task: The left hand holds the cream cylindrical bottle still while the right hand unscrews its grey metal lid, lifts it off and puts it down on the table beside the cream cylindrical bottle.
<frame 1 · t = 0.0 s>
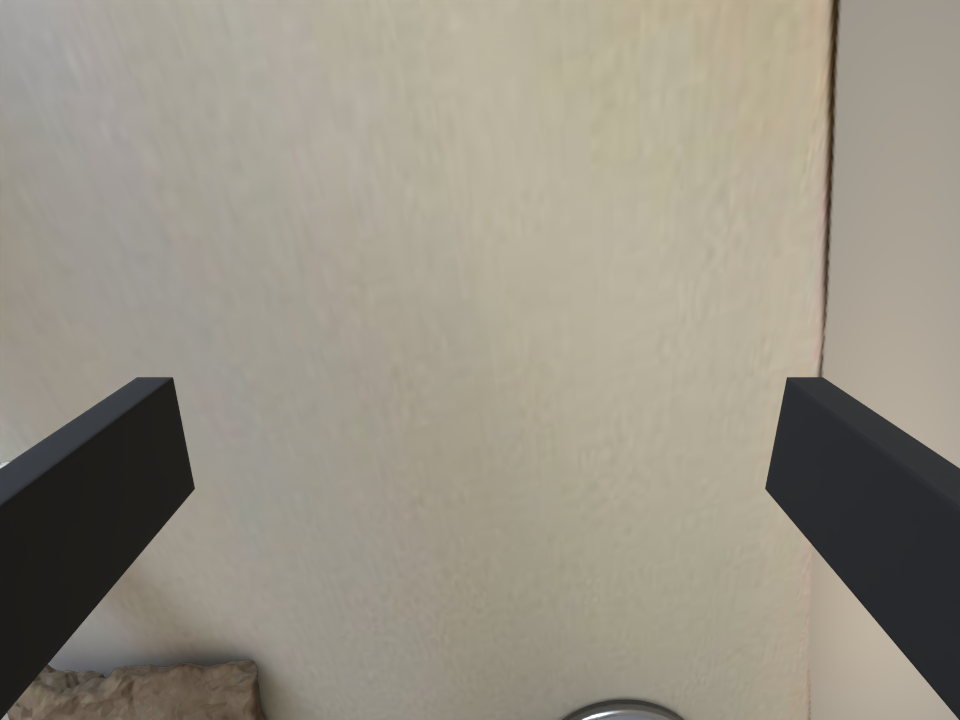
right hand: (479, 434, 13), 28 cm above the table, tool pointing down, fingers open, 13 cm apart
stone: (158, 702, 53), on the table
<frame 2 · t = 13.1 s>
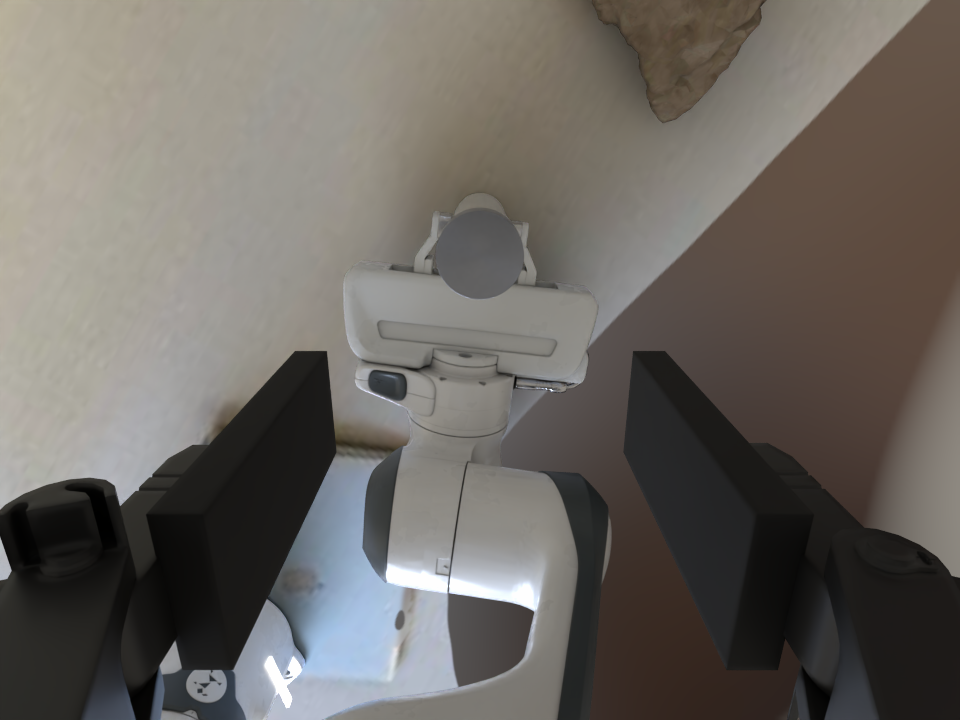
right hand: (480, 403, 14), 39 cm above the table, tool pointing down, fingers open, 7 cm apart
left hand: (480, 217, 45), fingers closed on cream cylindrical bottle, 4 cm apart
lid: (479, 255, 34), point 18 cm above the table, screwed on, not yet turned
cream cylindrical bottle: (480, 219, 51), on the table, touching left hand
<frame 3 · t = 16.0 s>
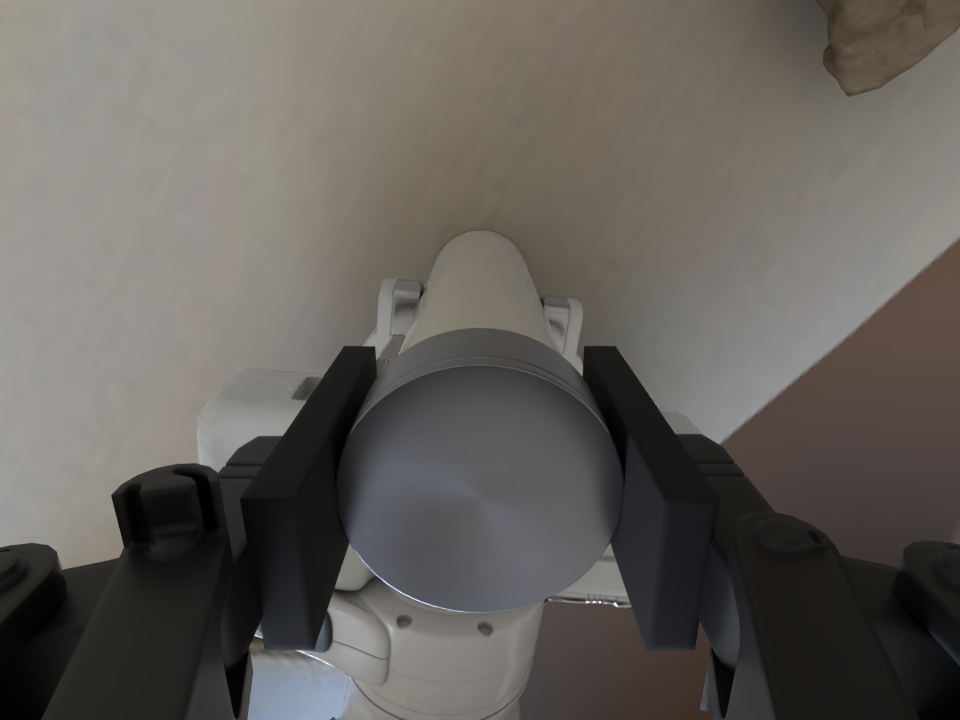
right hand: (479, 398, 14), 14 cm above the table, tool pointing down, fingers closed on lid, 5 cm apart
lid: (479, 488, 11), point 18 cm above the table, screwed on, not yet turned, touching right hand
cream cylindrical bottle: (480, 278, 28), on the table, touching left hand
when the right hand's fingers open (14 cm above the table, at t = 17.5 s): lid stays where it is, point 18 cm above the table.
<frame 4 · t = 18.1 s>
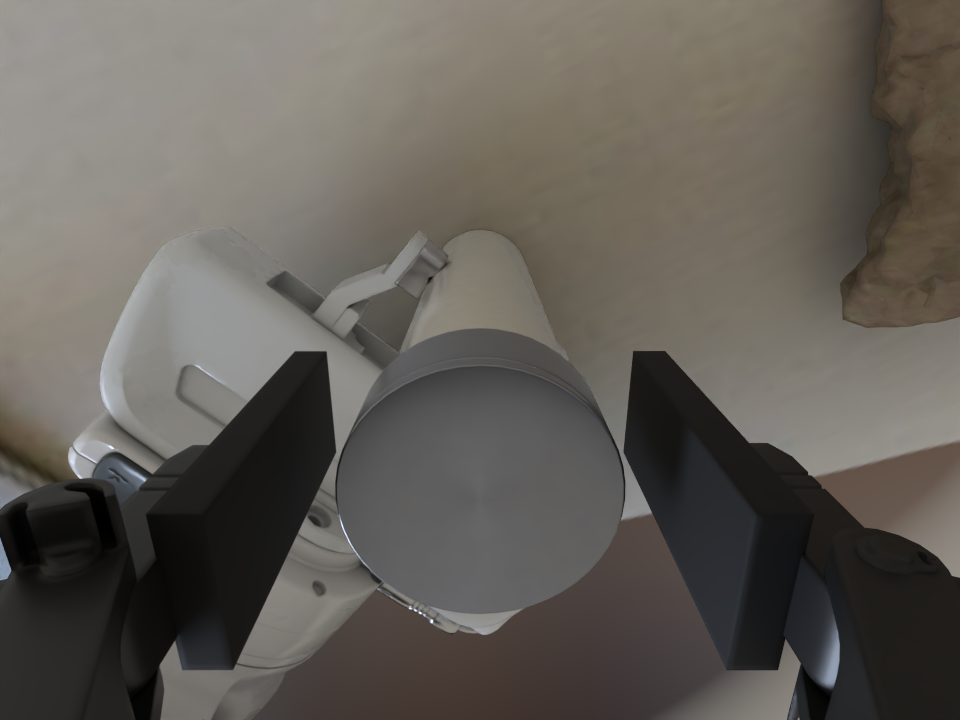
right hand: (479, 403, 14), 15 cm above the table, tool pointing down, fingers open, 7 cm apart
lid: (480, 489, 11), point 18 cm above the table, turned 99° so far, risen 0.2 cm, still on its thread
cream cylindrical bottle: (480, 277, 28), on the table, touching left hand
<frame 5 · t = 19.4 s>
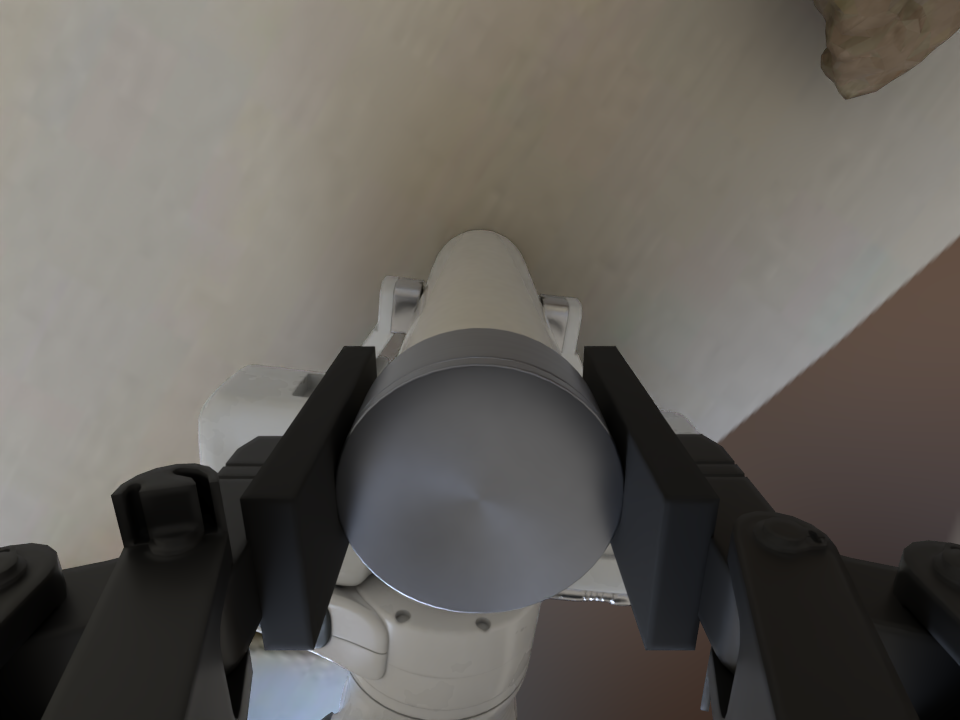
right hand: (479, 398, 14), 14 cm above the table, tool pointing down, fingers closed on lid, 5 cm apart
lid: (479, 489, 11), point 18 cm above the table, turned 99° so far, risen 0.2 cm, still on its thread, touching right hand
cream cylindrical bottle: (479, 277, 28), on the table, touching left hand
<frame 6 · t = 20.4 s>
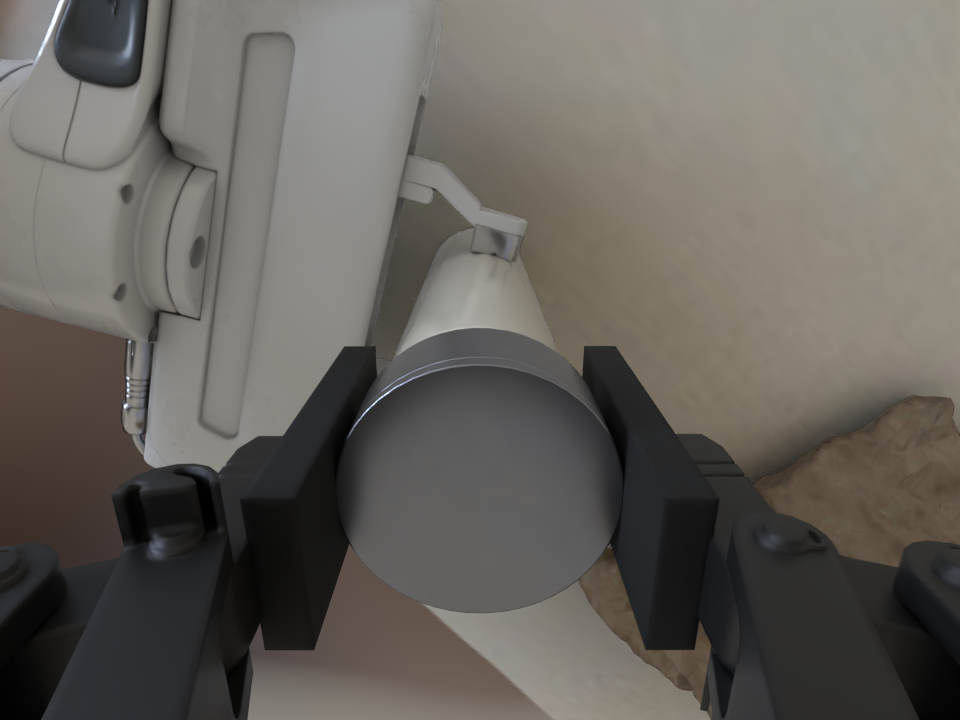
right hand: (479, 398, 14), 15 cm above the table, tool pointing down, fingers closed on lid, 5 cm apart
left hand: (499, 313, 22), fingers closed on cream cylindrical bottle, 4 cm apart
lid: (479, 488, 11), point 19 cm above the table, off its thread, touching right hand
cream cylindrical bottle: (477, 275, 28), on the table, touching left hand
stone: (781, 545, 34), on the table
when the right hand's fingers open (0 cm above the table, at t = 28.0 s): lid drops 3 cm, point 2 cm above the table.
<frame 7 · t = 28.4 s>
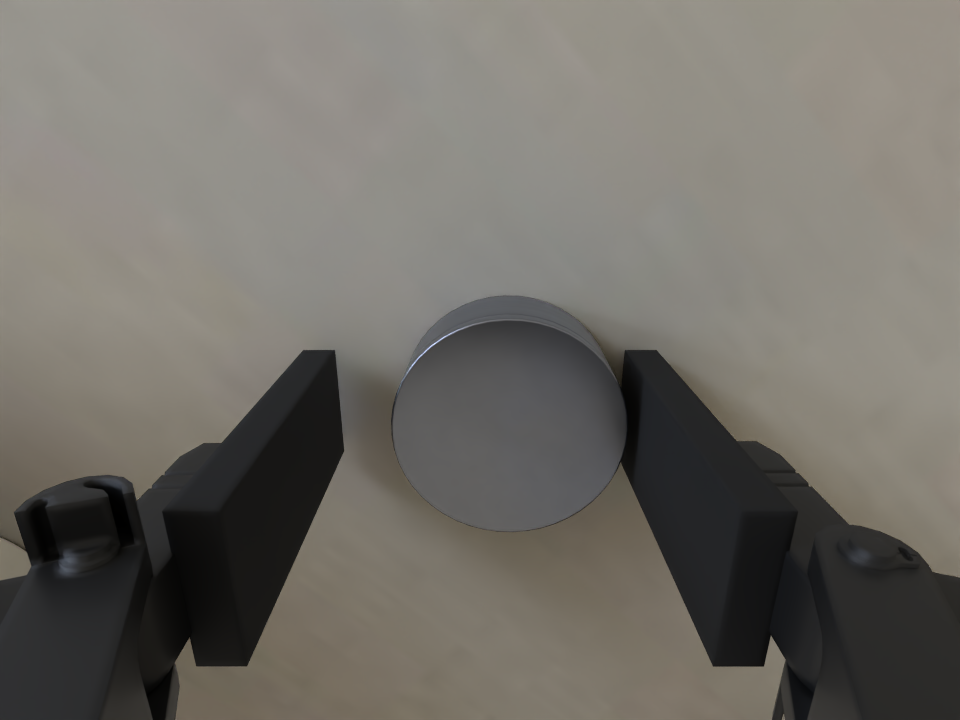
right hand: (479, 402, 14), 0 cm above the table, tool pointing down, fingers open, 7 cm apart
lid: (508, 425, 13), point 2 cm above the table, off its thread
when the left hand's fingers open (6 cm above the table, at t = 29.2 s): cream cylindrical bottle stays where it is, on the table.
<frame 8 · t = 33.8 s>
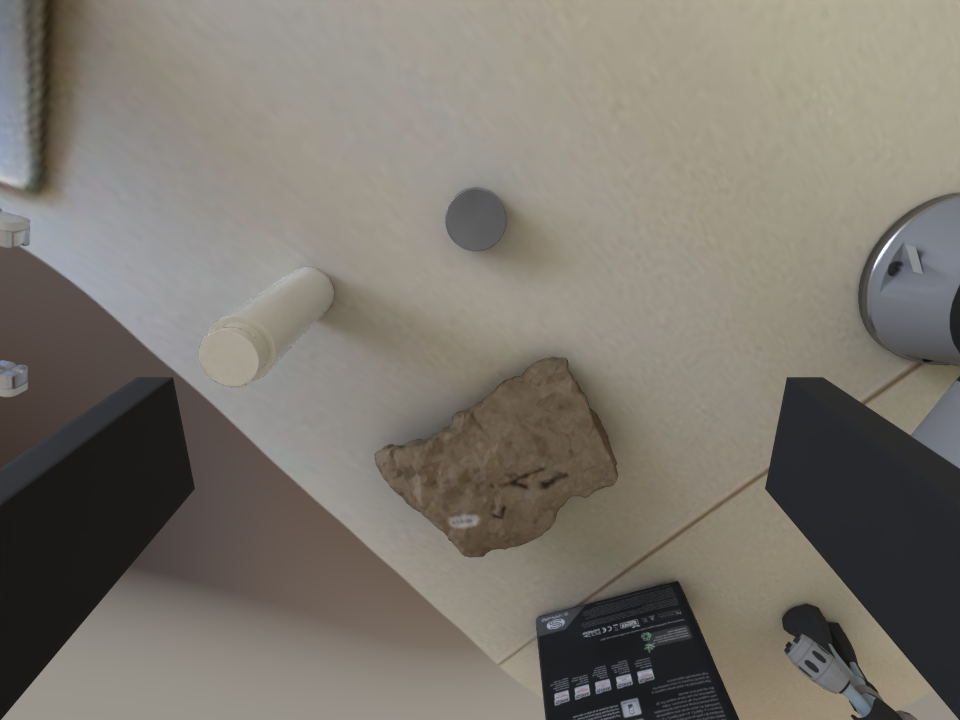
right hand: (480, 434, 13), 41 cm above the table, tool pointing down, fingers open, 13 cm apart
lid: (475, 220, 49), point 2 cm above the table, off its thread
cream cylindrical bottle: (309, 291, 53), on the table
graphics card box: (609, 614, 66), on the table
stone: (500, 446, 59), on the table
robot: (812, 625, 67), on the table
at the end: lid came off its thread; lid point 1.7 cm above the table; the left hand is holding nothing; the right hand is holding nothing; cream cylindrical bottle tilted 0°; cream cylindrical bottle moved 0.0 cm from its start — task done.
